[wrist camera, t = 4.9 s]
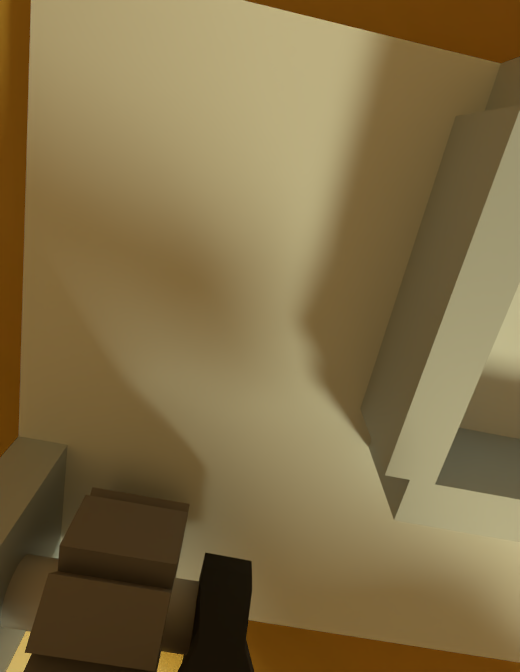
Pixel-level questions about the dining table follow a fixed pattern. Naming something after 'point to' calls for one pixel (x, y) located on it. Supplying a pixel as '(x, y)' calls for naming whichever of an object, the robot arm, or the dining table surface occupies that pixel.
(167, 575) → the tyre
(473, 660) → the dining table surface
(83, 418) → the chassis
